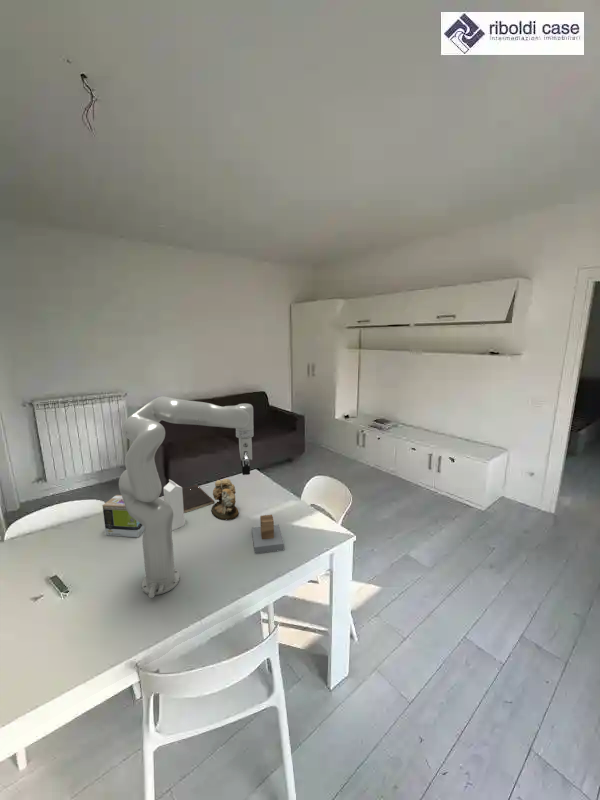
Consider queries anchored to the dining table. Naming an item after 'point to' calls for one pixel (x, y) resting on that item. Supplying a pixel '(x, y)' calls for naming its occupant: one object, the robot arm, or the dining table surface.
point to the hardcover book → (195, 498)
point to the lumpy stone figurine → (224, 500)
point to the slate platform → (267, 541)
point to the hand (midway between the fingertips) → (245, 469)
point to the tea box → (120, 519)
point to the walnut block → (267, 526)
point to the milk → (175, 503)
